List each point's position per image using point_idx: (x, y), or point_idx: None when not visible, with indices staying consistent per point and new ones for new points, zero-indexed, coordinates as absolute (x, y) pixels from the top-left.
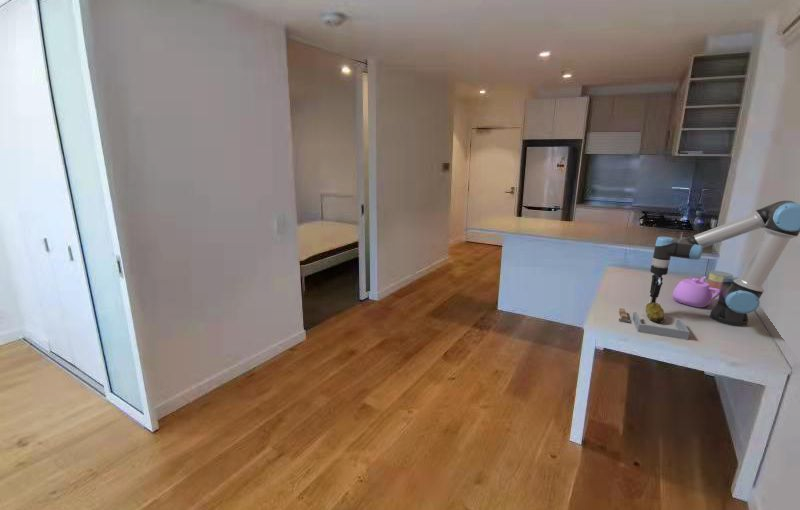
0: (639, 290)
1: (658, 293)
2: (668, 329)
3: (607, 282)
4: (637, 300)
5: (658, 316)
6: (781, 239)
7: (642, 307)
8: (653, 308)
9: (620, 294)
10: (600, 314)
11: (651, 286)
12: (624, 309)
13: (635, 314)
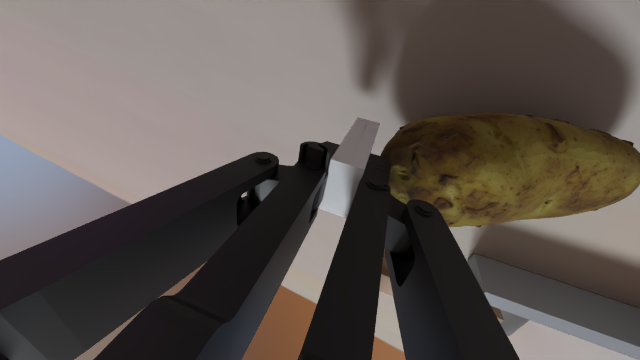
0: (8, 21)
1: (462, 269)
2: None
3: (29, 146)
4: (175, 106)
5: (616, 200)
6: None
7: (277, 127)
8: (511, 219)
9: (138, 157)
10: None
11: (211, 255)
12: (388, 278)
13: (533, 318)
